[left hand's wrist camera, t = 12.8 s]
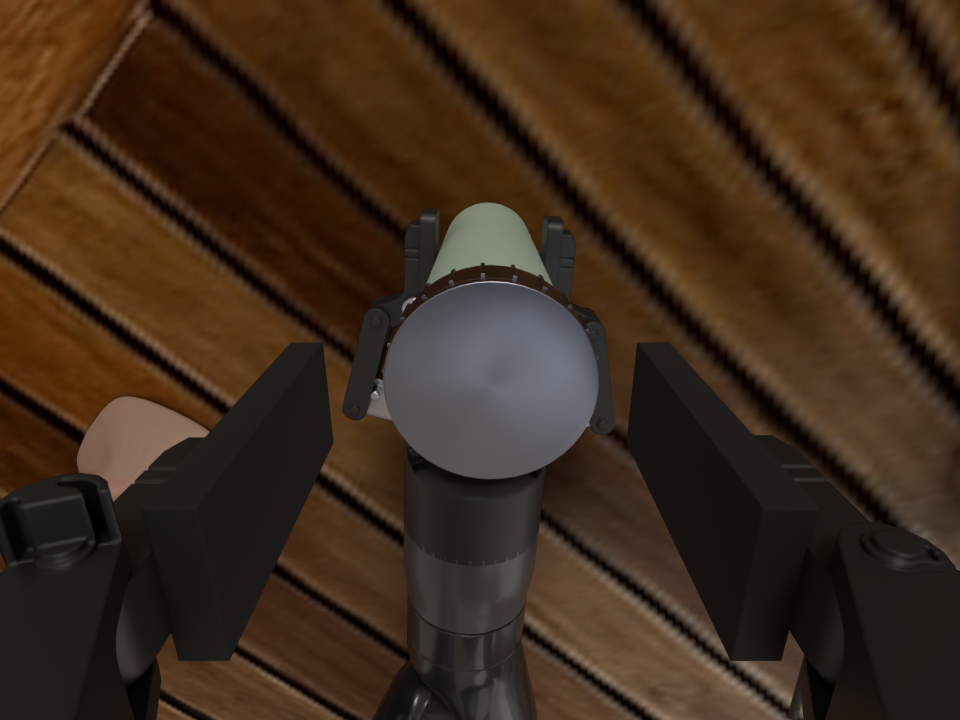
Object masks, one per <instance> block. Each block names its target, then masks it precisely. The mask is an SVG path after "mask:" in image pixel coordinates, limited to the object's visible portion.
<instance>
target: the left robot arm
mask: <svg viewBox="0 0 960 720" xmlns="http://www.w3.org/2000/svg"><path fill="white" fill-rule="evenodd" d="M332 445H333V434H332V425H331V415H330V406H329V396H328V387H327V378H326V368H325V359H324V349H323V343H290V344H289V346H288V347H287V348H286V349H285V350H284V351H283V352H282V353H281V354H280V355H279V356H278V358H277V359H276V360H275V361H274V362H273V363H272V364H271V365H270V366H269V367H268V369H267V370H266V371H265V372H264V373H263V374H262V375H261V376H260V377H259V378H258V380H257V381H256V382H255V383H254V384H253V385H252V386H251V387H250V388H249V389H248V390H247V392H246V393H245V394H244V395H243V396H242V397H241V398H240V399H239V400H238V401H237V403H236V404H235V405H234V406H233V407H232V408H231V409H230V410H229V411H228V412H227V413H226V415H225V416H224V417H223V418H222V419H221V420H220V421H219V422H218V423H217V424H216V426H215V427H214V428H213V429H212V430H211V431H210V432H209V433H208V434H207V435H206V437H188V438H187V439H185V440H183V441H181V442H179V443H178V444H176V445H174V446H172V447H170V448H169V449H167V450H165V451H164V452H163V453H162V454H161V455H160V456H159V457H158V458H157V459H156V460H155V461H154V462H153V463H152V464H151V465H150V466H149V467H148V470H145V471H144V472H143V473H142V474H141V475H140V476H139V477H138V478H137V479H136V480H135V483H134V484H131V485H130V486H129V487H128V488H127V489H126V490H125V491H124V492H123V493H122V494H121V495H120V496H119V497H118V498H117V499H116V500H115V501H114V502H113V499H112V496H111V492H110V488H109V485H108V481H107V480H105V479H104V478H102V477H101V476H99V475H94V474H87V473H77V474H66V475H59V476H56V477H52V478H48V479H44V480H40V481H37V482H34V483H32V484H29V485H27V486H24V487H22V488H19V489H17V490H15V491H14V492H12V493H10V494H9V495H7V496H5V497H4V498H2V499H0V552H1V554H2V557H3V560H4V562H5V565H6V567H5V569H4V571H3V572H2V573H0V720H156V718H157V710H158V702H159V694H160V686H161V676H160V669H159V665H158V662H157V658H156V656H157V654H158V653H159V651H160V649H161V648H162V646H163V645H164V643H165V641H166V640H167V638H168V637H169V635H170V633H171V632H172V636H173V640H174V644H175V648H176V652H177V655H178V659H179V661H229V660H230V658H231V656H232V654H233V652H234V650H235V648H236V646H237V644H238V642H239V639H240V637H241V635H242V633H243V631H244V629H245V627H246V625H247V623H248V621H249V618H250V616H251V614H252V612H253V610H254V608H255V606H256V604H257V602H258V600H259V598H260V595H261V593H262V591H263V589H264V587H265V585H266V583H267V581H268V579H269V577H270V574H271V572H272V570H273V568H274V566H275V564H276V562H277V560H278V558H279V556H280V554H281V551H282V549H283V547H284V545H285V543H286V541H287V539H288V537H289V535H290V533H291V531H292V528H293V526H294V524H295V522H296V520H297V518H298V516H299V514H300V512H301V510H302V507H303V505H304V503H305V501H306V499H307V497H308V495H309V493H310V491H311V489H312V487H313V484H314V482H315V480H316V478H317V476H318V474H319V472H320V470H321V468H322V466H323V463H324V461H325V459H326V457H327V455H328V453H329V451H330V449H331V447H332ZM627 445H628V447H629V449H630V451H631V453H632V455H633V457H634V459H635V461H636V463H637V466H638V468H639V470H640V472H641V474H642V476H643V478H644V480H645V482H646V484H647V487H648V489H649V491H650V493H651V495H652V497H653V499H654V501H655V503H656V505H657V507H658V510H659V512H660V514H661V516H662V518H663V520H664V522H665V524H666V526H667V528H668V531H669V533H670V535H671V537H672V539H673V541H674V543H675V545H676V547H677V549H678V551H679V554H680V556H681V558H682V560H683V562H684V564H685V566H686V568H687V570H688V572H689V575H690V577H691V579H692V581H693V583H694V585H695V587H696V589H697V591H698V593H699V595H700V598H701V600H702V602H703V604H704V606H705V608H706V610H707V612H708V614H709V616H710V618H711V621H712V623H713V625H714V627H715V629H716V631H717V633H718V635H719V637H720V639H721V642H722V644H723V646H724V648H725V650H726V652H727V654H728V656H729V658H730V660H731V661H781V659H782V655H783V652H784V648H785V644H786V640H787V636H788V632H789V630H790V632H791V634H792V635H793V637H794V638H795V640H796V642H797V643H798V645H799V646H800V648H801V650H802V651H803V653H804V654H805V655H804V658H803V662H802V665H801V669H800V673H799V676H798V680H797V683H796V687H795V691H794V694H793V698H792V701H791V705H790V711H789V718H792V719H795V720H797V718H798V715H799V711H800V708H801V707H802V708H803V716H804V720H960V571H959V570H957V569H956V567H955V566H954V564H953V563H952V562H951V561H950V559H949V558H948V557H947V556H946V555H945V553H944V552H943V551H941V550H940V549H938V548H937V547H935V546H934V545H933V544H931V543H930V542H928V541H927V540H925V539H923V538H921V537H919V536H917V535H915V534H913V533H910V532H908V531H906V530H904V529H900V528H897V527H893V526H890V525H886V524H883V523H873V522H869V521H868V520H867V519H866V518H865V517H864V516H863V515H862V514H861V513H860V512H859V511H858V510H857V509H856V508H855V507H854V506H853V505H852V504H851V503H850V502H849V501H848V500H847V499H846V498H845V497H844V496H843V495H842V494H841V493H840V492H839V491H838V490H837V489H836V488H835V487H834V486H833V485H832V484H831V483H830V482H826V478H825V477H824V476H823V475H822V474H821V473H820V472H819V471H818V470H817V469H816V468H812V464H811V463H810V462H809V461H808V460H807V459H806V458H805V457H804V456H803V455H802V454H801V453H800V452H799V451H798V450H797V449H795V448H793V447H792V446H790V445H788V444H786V443H784V442H783V441H781V440H779V439H777V438H776V437H774V436H772V435H753V434H752V433H751V432H750V431H749V430H748V429H747V428H746V427H745V426H744V424H743V423H742V422H741V421H740V420H739V419H738V418H737V417H736V416H735V415H734V413H733V412H732V411H731V410H730V409H729V408H728V407H727V406H726V405H725V404H724V403H723V401H722V400H721V399H720V398H719V397H718V396H717V395H716V394H715V393H714V392H713V390H712V389H711V388H710V387H709V386H708V385H707V384H706V383H705V382H704V381H703V380H702V378H701V377H700V376H699V375H698V374H697V373H696V372H695V371H694V370H693V369H692V367H691V366H690V365H689V364H688V363H687V362H686V361H685V360H684V359H683V358H682V356H681V355H680V354H679V353H678V352H677V351H676V350H675V349H674V348H673V347H672V346H671V344H670V343H637V349H636V359H635V368H634V378H633V387H632V396H631V406H630V415H629V425H628V434H627Z"/></svg>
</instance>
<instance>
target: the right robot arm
mask: <svg viewBox="0 0 960 720" xmlns="http://www.w3.org/2000/svg"><path fill="white" fill-rule="evenodd" d="M438 240H439V209H433V208H424V209H423V210H422V211H421V215H420V221H417V220H413V221H412V222H411V224H410V225H409V227H408V230H407V232H406V234H405V284H404V290H403V291H402V292H400V293H398V294H394V295H391V296H386V295H382V296H379V297H377V298H376V299H375V300H374V302H373V303H372V306H371V308H370V309H368V311H367V312H366V313H365V315H364V318H363V322H362V326H361V331H360V335H359V339H358V343H357V348H356V352H355V356H354V360H353V365H352V369H351V373H350V377H349V382H348V386H347V390H346V394H345V399H344V403H343V413H344V414H345V416H346V417H348V418H349V419H352V420H360V419H362V418H363V417H364V416H365V415H366V414H369V415H373V416H377V417H380V418H384V419H388V420H392V418H391V416H390V414H389V412H388V408H387V405H386V401H385V397H384V389H383V373H382V372H381V368H382V364H383V360H384V356H385V352H386V348H387V344H388V340H389V336H390V332H391V329H392V327H395V326H399V324H400V322H401V320H400V318H401V316H402V313H403V311H404V309H405V307H406V305H407V304H408V303H410V304H411V303H412V302H413V301H414V300H415V299H416V297H417V296H418V295H419V294H420V293H421V292H422V291H423V290H424V288H425V286H426V284H427V281H428V279H429V276H430V274H431V271H432V269H433V266H434V264H435V261H436V259H437V256H438ZM575 249H576V245H575V241H574V238H573V235H572V234H571V232H570V231H569V230H563V220H562V219H561V218H560V217H556V216H544V220H543V229H542V239H541V250H540V258H541V260H542V263H543V265H544V267H545V269H546V271H547V274H548V276H549V278H550V280H551V282H552V285H553V286H554V287H555V288H556V289H557V290H558V291H559V292H560V293H562V292H563V291H564V292H565V294H566V295H567V297H568V299H569V301H570V291H571V283H572V274H573V266H574V258H575ZM570 303H571V305H572V307H573V309H574V310H575V312H576V313H577V315H579V314H581V316H582V318H583V320H584V322H585V324H586V325H587V327H588V329H589V331H590V332H589V333H587V334H588V336H589V338H590V341H591V343H592V345H593V347H594V350H595V352H596V354H597V356H598V360H597V361H598V369H599V391H598V397H597V402H596V405H595V408H594V412H593V414H592V416H591V418H590V421H589V423H588V425H587V426H586V427H589V426H590V427H591V429H592V431H593V432H595V433H596V434H607V433H609V432H610V431H611V430H612V429H613V427H614V413H613V403H612V393H611V383H610V373H609V363H608V353H607V343H606V334H605V329H604V327H603V326H602V324H601V322H600V321H599V319H598V318H597V316H596V314H595V313H594V312H593V311H592V310H591V309H589V308H582V307H579V306H577V305H575V304H573V303H572V302H570ZM403 440H404V443H405V495H404V565H405V573H406V578H407V585H408V597H407V645H408V652H409V656H410V659H411V660H409V661H408V662H407V663H406V664H405V665H403V667H402V668H401V669H400V670H399V671H398V673H397V674H396V676H395V677H394V679H393V681H392V682H391V684H390V686H389V688H388V689H387V691H386V693H385V695H384V697H383V699H382V701H381V703H380V705H379V707H378V709H377V711H376V713H375V715H374V717H373V718H372V720H538V717H537V710H536V704H535V699H534V694H533V690H532V686H531V681H530V677H529V673H528V669H527V664H526V658H525V654H524V651H523V647H522V643H521V640H522V632H523V623H524V615H525V606H526V597H527V591H528V588H529V585H530V581H531V578H532V574H533V570H534V564H535V556H536V548H537V540H538V531H539V522H540V513H541V505H542V496H543V488H544V479H545V471H546V465H545V466H544V467H542V468H540V469H537V470H535V471H532V472H530V473H527V474H523V475H520V476H516V477H510V478H504V479H477V478H471V477H466V476H462V475H458V474H455V473H452V472H449V471H447V470H444V469H442V468H440V467H438V466H436V465H434V464H433V463H431V462H429V461H428V460H426V459H425V458H424V457H422V456H421V455H420V454H418V453H417V452H416V451H415V450H414V449H413V448H412V447H411V446H410V445H409V444H408V443H407V442H406V441H405V439H404V438H403Z"/></svg>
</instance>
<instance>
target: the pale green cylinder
mask: <svg viewBox="0 0 960 720" xmlns="http://www.w3.org/2000/svg"><path fill="white" fill-rule="evenodd" d="M481 263H485V265H499V266H508V267H511V264H512V265H515V268H518V269H521V270H524V271H527V272H529V273H532V274H534V275H536V276H539V274H540V275H542V276H543V278H544V280H545V281H546V282H548V283H549V284H551V285H552V282H551V280H550V278H549V276H548V274H547V271H546V269H545V267H544V265H543V263H542V260H541V258H540V256H539V254H538V252H537V250H536V247H535V245H534V243H533V241H532V239H531V236H530V234H529V232H528V230H527V228H526V225H525V224H524V222H523V221H522V219H521V218H520V217H519V216H518V215H517V214H516V213H515V212H514V211H512V210H511V209H509V208H507V207H505V206H503V205H500V204H496V203H480V204H476V205H473V206H470V207H468V208H466V209H465V210H463V211H462V212H461V213H460V214H458V215H457V216H456V218H455V219H454V220H453V222H452V223H451V225H450V227H449V229H448V231H447V234H446V236H445V239H444V241H443V244H442V246H441V249H440V251H439V254H438V256H437V259H436V261H435V264H434V266H433V269H432V271H431V274H430V276H429V279H428V281H427V283H430V284H432V283H434V282H435V281H437V280H438V279H440V278H442V277H444V276H446V275H448V274H450V273H451V270H452V269H456V271H458V270H461V269H464V268H469V267H474V266H481ZM552 286H553V285H552Z"/></svg>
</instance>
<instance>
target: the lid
mask: <svg viewBox="0 0 960 720" xmlns="http://www.w3.org/2000/svg"><path fill="white" fill-rule="evenodd" d="M400 320H401V322H400V324H399V326H398V328H397V327H395V329H394V331H393V333H392V335H391V337H390V339H389V341H388V344H387V347H389V349H388V352H387V355H386V359H385V364H384V370H383V389H384V397H385V401H386V405H387V408H388V412H389V414H390V416H391V418H392V421H393V423H394V425H395V426H396V428H397V430H398V431H399V433H400V434H401V436H402V437H403V438H404V439H405V441H406V442H407V443H408V444H409V445H410V446H411V447H412V448H413V449H414V450H415V451H416V452H417V453H418V454H420V455H421V456H422V457H424V458H425V459H426V460H428V461H429V462H431V463H433V464H434V465H436V466H438V467H440V468H442V469H444V470H447V471H449V472H452V473H455V474H458V475H462V476H466V477H471V478H477V479H504V478H510V477H516V476H520V475H523V474H527V473H530V472H532V471H535V470H537V469H540V468H542V467H544V466H545V465H547V464H549V463H551V462H553V461H554V460H555V459H557V458H558V457H560V456H561V455H562V454H563V453H565V452H566V451H567V450H568V449H569V448H570V447H571V446H572V445H573V444H574V443H575V442H576V440H577V439H578V438H579V437H580V436H581V434H582V432H583V431H584V429H585V428H586V426H587V425H588V423H589V421H590V418H591V416H592V414H593V412H594V408H595V405H596V402H597V397H598V391H599V369H598V361H597V360H598V356H597V354H596V352H595V350H594V347H593V345H592V343H591V341H590V338H589V336H588V334H587V333H589V332H590V331H589V329H588V327H587V325H586V324H585V322H584V320H583V318H582V316H581V314H579V315H577V313H576V312H575V310H574V309H573V307H572V305H571V303H570V301H569V299H568V297H567V295H566V294H565V292H564V291H563V292H562V293H560V292H559V291H558V290H557V289H556V288H555V287H554V286H552V285H551V284H549V283H548V282H546V281H545V280H544V278H543V276H542V275H540V274H539V276H536V275H534V274H532V273H529V272H527V271H524V270H521V269H518V268H515V265H512V264H511V267H508V266H499V265H485V263H481V266H474V267H469V268H464V269H461V270H458V271H456V269H452V270H451V273H450V274H448V275H446V276H444V277H442V278H440V279H438V280H437V281H435V282H434V283H432V284H430V283H427V284H426V286H425V288H424V290H423V291H422V292H421V293H420V294H419V295H418V296H417V297H416V299H415V300H414V301H413V302H412V303H411V304H410V303H408V304H407V305H406V307H405V309H404V311H403V313H402V316H401V318H400Z"/></svg>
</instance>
